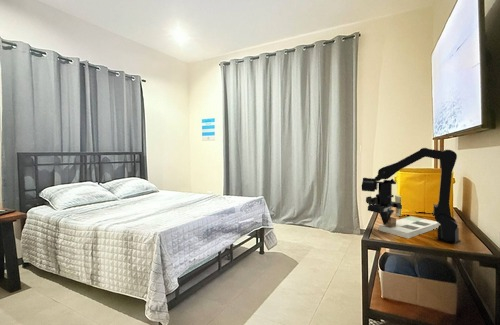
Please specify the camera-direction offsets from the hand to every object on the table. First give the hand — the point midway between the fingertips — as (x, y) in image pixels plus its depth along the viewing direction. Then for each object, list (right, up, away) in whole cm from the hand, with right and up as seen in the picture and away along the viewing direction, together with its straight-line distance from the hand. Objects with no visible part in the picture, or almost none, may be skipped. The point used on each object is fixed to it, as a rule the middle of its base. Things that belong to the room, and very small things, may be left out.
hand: (384, 224), depth 124 cm
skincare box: (+25, -2, +28) cm, 37 cm away
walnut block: (+3, -1, +1) cm, 3 cm away
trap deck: (+15, -3, +4) cm, 15 cm away
